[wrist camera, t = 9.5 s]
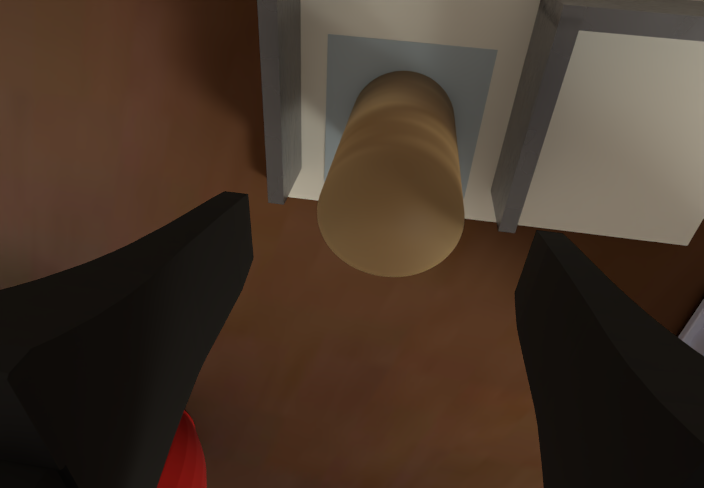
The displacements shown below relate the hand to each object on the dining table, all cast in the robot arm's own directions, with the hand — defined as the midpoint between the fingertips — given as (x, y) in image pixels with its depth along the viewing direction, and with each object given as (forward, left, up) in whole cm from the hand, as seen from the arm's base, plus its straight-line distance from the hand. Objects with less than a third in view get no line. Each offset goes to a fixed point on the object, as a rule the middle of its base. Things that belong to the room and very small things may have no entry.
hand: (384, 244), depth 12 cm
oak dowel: (0, 0, -8) cm, 8 cm away
